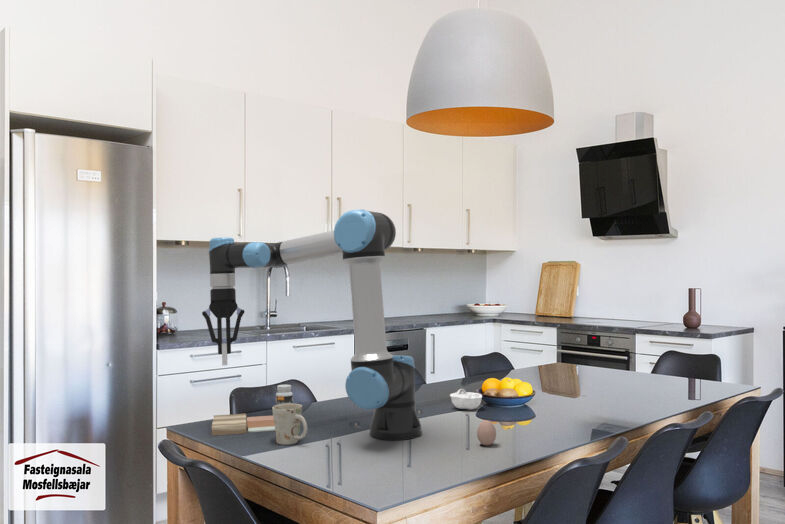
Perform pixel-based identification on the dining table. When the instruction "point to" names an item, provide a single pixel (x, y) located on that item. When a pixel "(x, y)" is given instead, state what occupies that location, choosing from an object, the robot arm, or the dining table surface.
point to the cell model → (466, 399)
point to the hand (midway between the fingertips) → (224, 364)
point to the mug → (288, 423)
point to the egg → (486, 433)
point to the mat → (261, 429)
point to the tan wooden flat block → (229, 424)
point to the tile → (260, 421)
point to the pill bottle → (284, 394)
